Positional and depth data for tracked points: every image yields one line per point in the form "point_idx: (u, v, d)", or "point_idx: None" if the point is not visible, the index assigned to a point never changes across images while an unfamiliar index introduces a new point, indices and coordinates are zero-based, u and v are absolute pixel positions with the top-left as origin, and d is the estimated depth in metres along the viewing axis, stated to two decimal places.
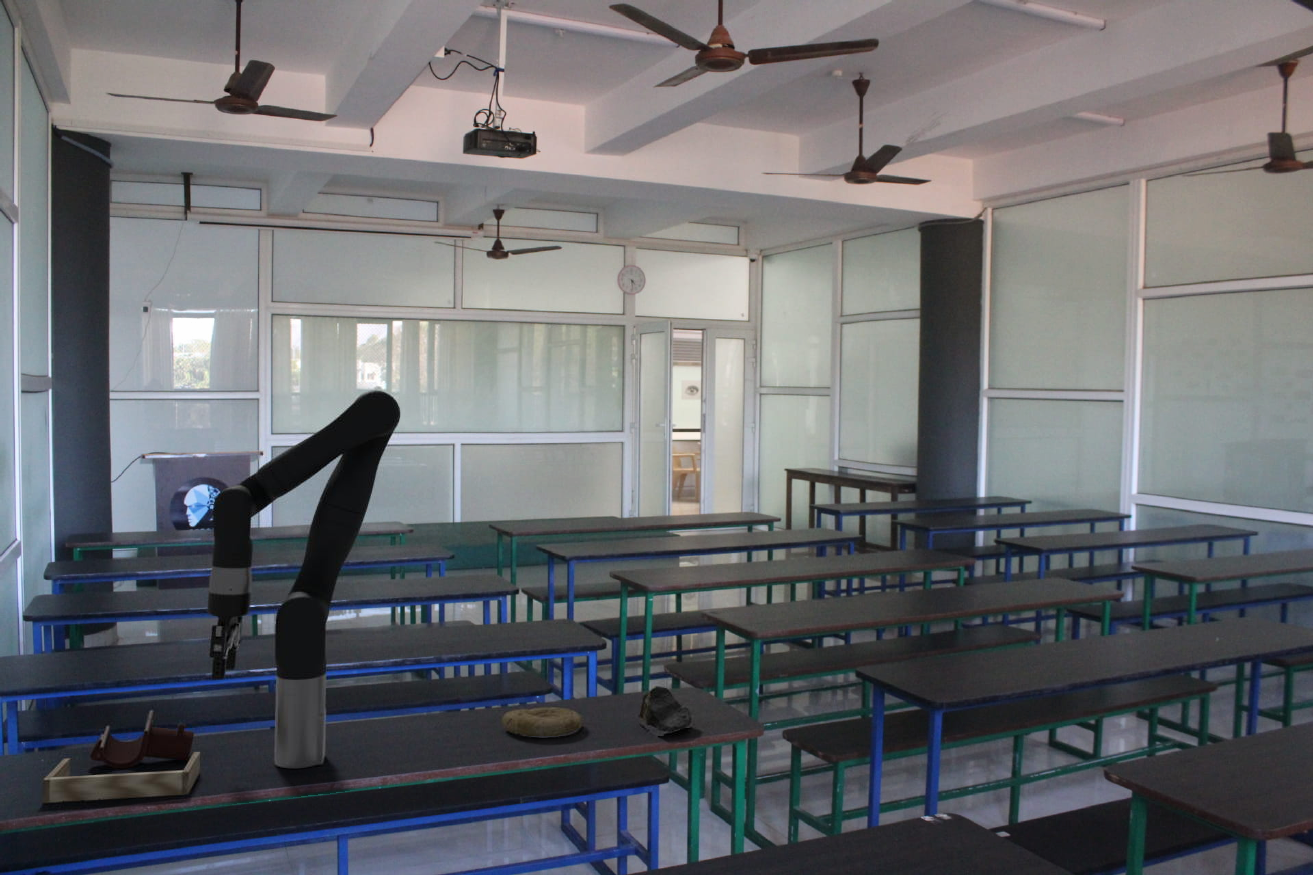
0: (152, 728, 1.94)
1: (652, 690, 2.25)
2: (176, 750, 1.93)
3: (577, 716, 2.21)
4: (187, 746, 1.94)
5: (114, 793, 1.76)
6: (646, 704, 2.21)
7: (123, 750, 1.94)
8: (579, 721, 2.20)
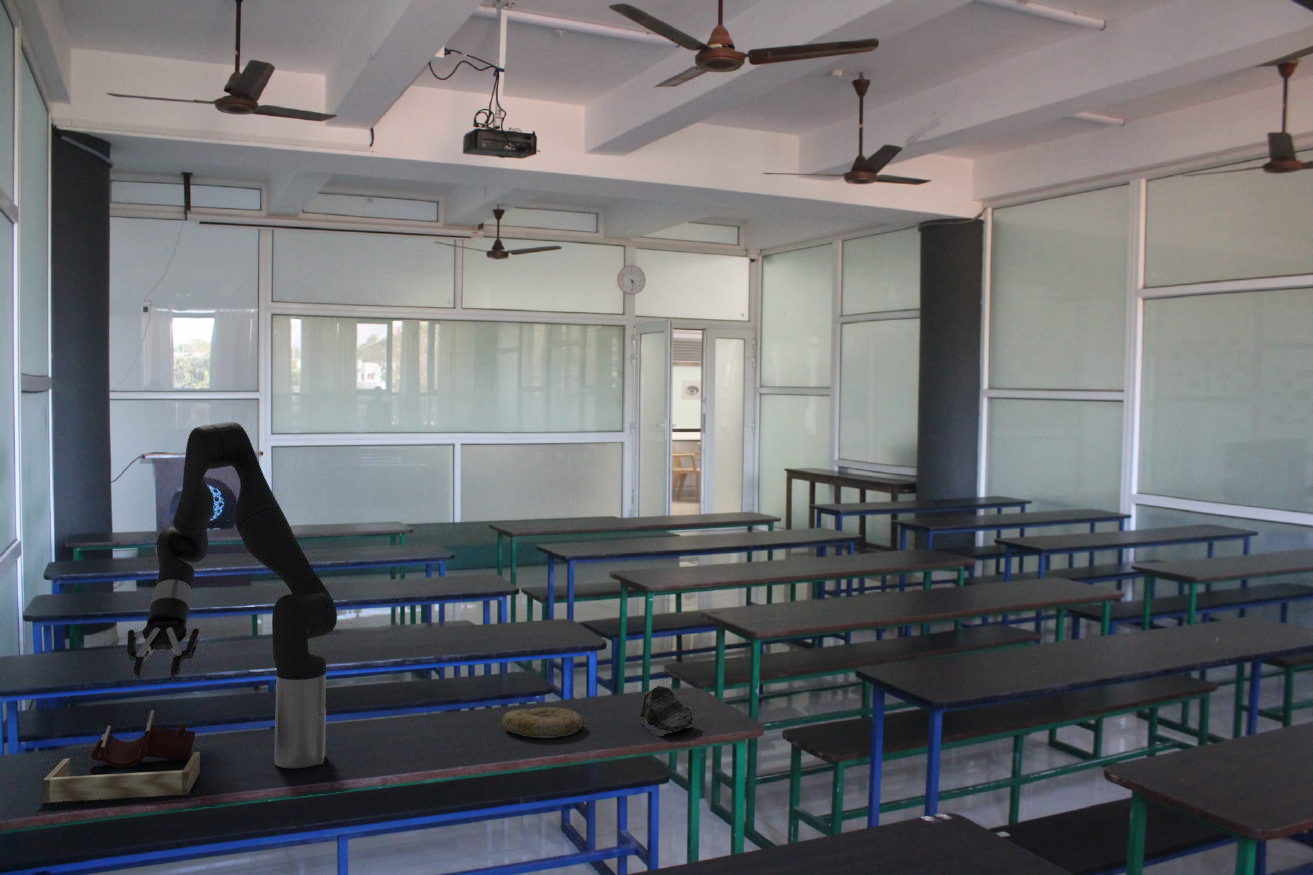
0: (153, 728, 1.94)
1: (654, 690, 2.25)
2: (177, 750, 1.93)
3: (577, 716, 2.21)
4: (188, 746, 1.94)
5: (114, 793, 1.76)
6: (647, 704, 2.21)
7: (124, 750, 1.94)
8: (579, 721, 2.20)
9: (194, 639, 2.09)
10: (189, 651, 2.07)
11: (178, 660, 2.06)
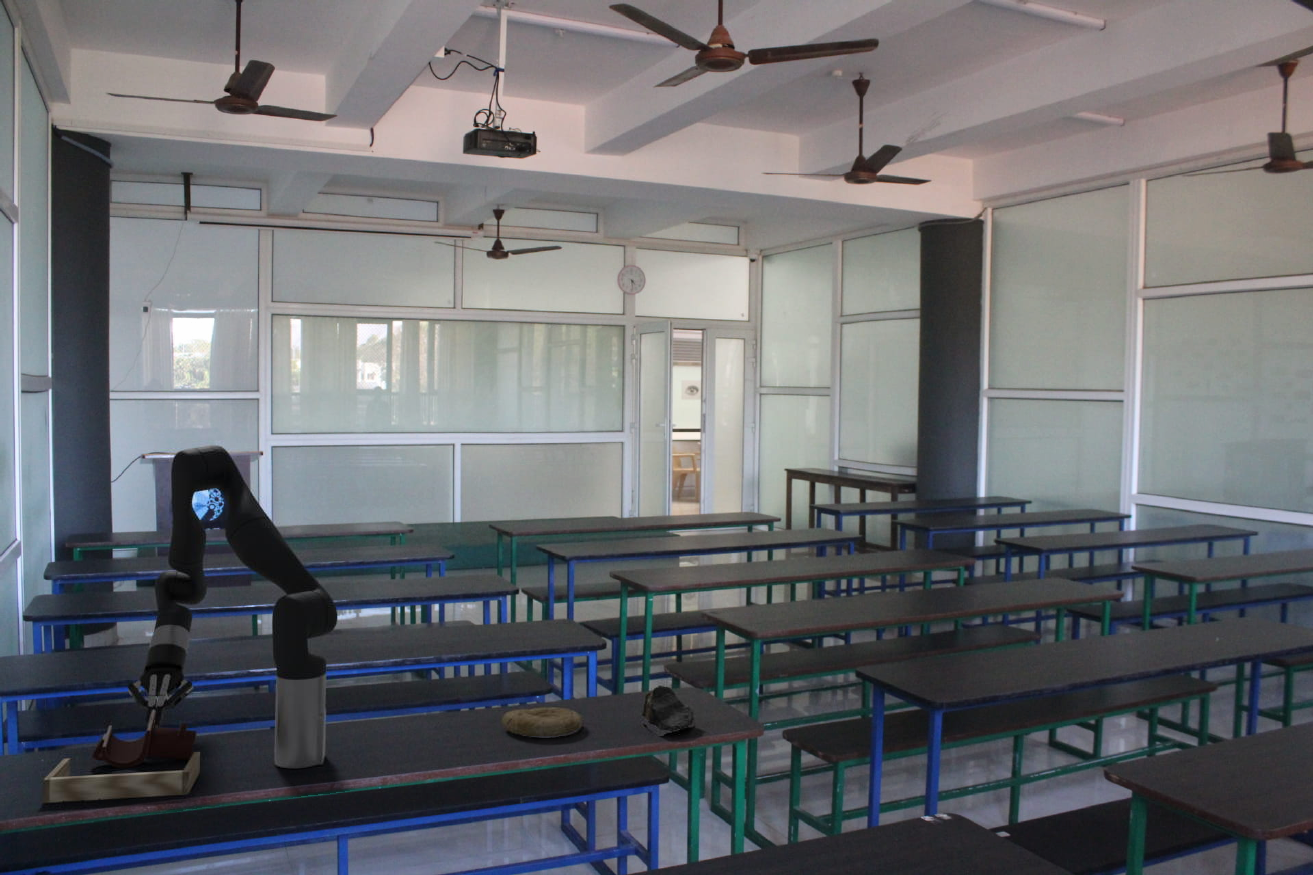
0: (154, 728, 1.94)
1: (655, 690, 2.26)
2: (178, 750, 1.93)
3: (577, 716, 2.21)
4: (189, 746, 1.94)
5: (114, 793, 1.76)
6: (648, 703, 2.22)
7: (125, 749, 1.94)
8: (579, 721, 2.20)
9: (182, 691, 2.07)
10: (170, 702, 2.05)
11: (160, 710, 2.04)
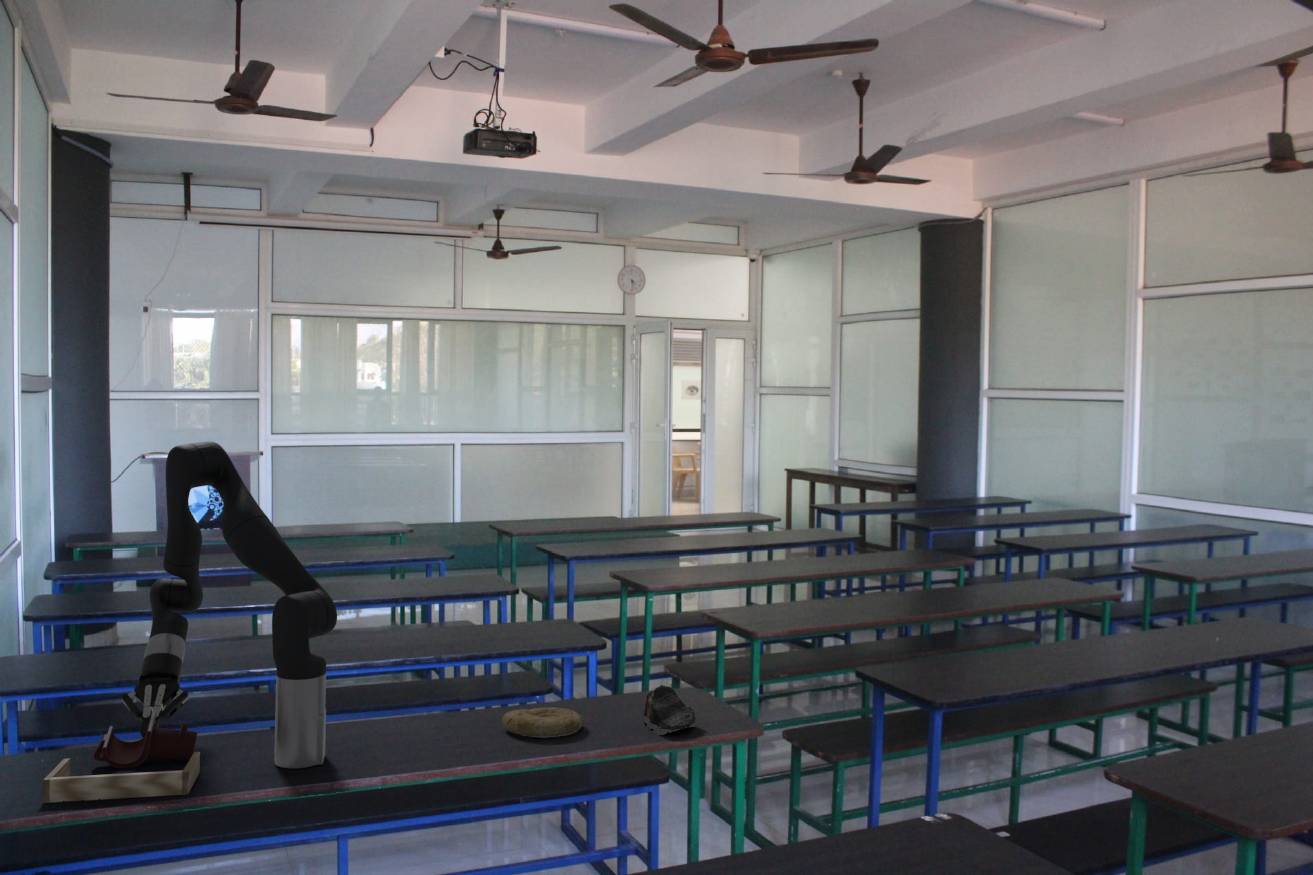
0: (155, 728, 1.93)
1: (656, 689, 2.26)
2: (179, 750, 1.93)
3: (577, 716, 2.21)
4: (190, 746, 1.94)
5: (114, 793, 1.76)
6: (649, 703, 2.22)
7: (126, 750, 1.93)
8: (579, 721, 2.20)
9: (178, 702, 2.02)
10: (165, 712, 2.00)
11: (155, 722, 1.99)
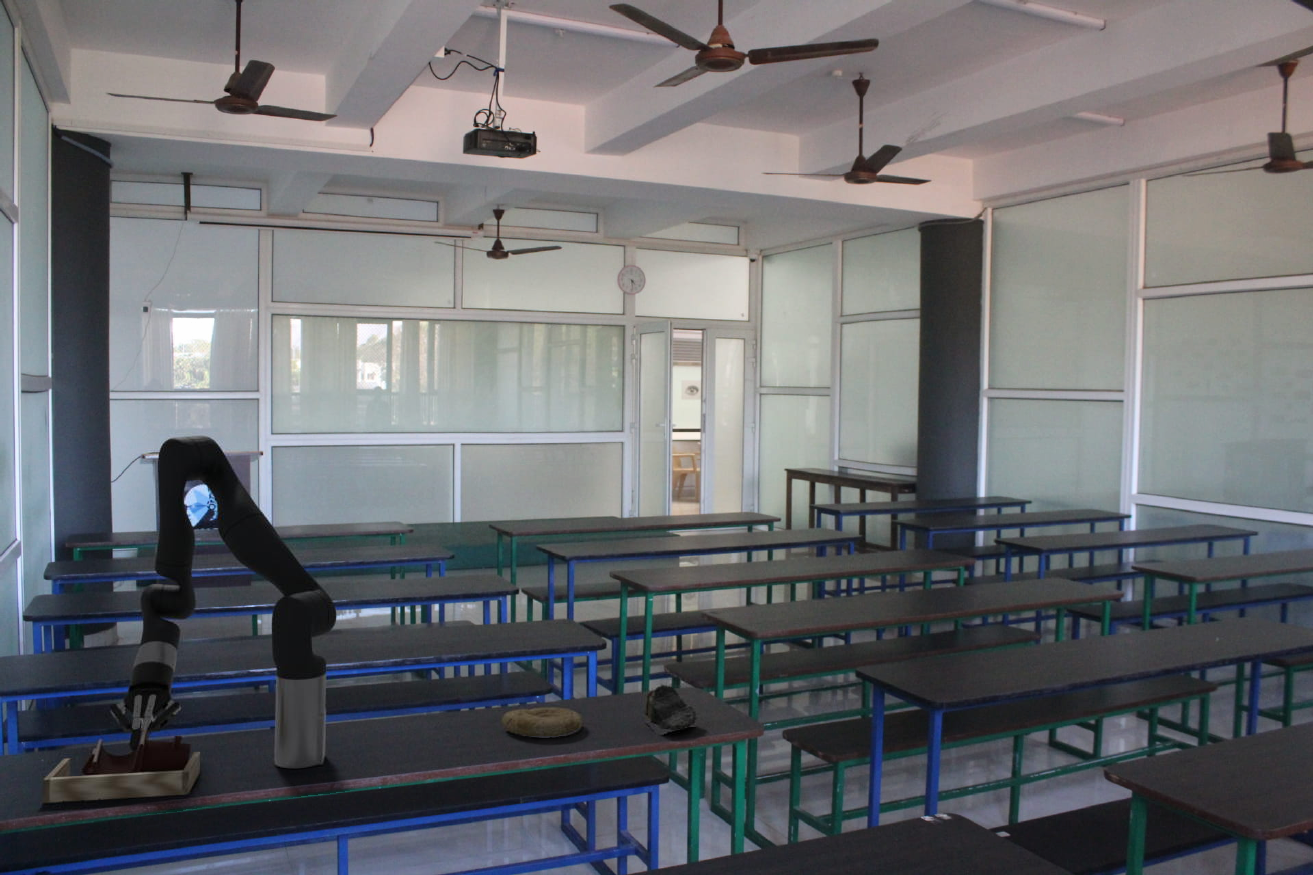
0: (147, 741, 1.86)
1: (657, 689, 2.27)
2: (172, 764, 1.86)
3: (577, 716, 2.21)
4: (184, 759, 1.86)
5: (114, 793, 1.76)
6: (650, 702, 2.22)
7: (116, 764, 1.86)
8: (579, 721, 2.20)
9: (168, 713, 1.94)
10: (156, 724, 1.92)
11: None
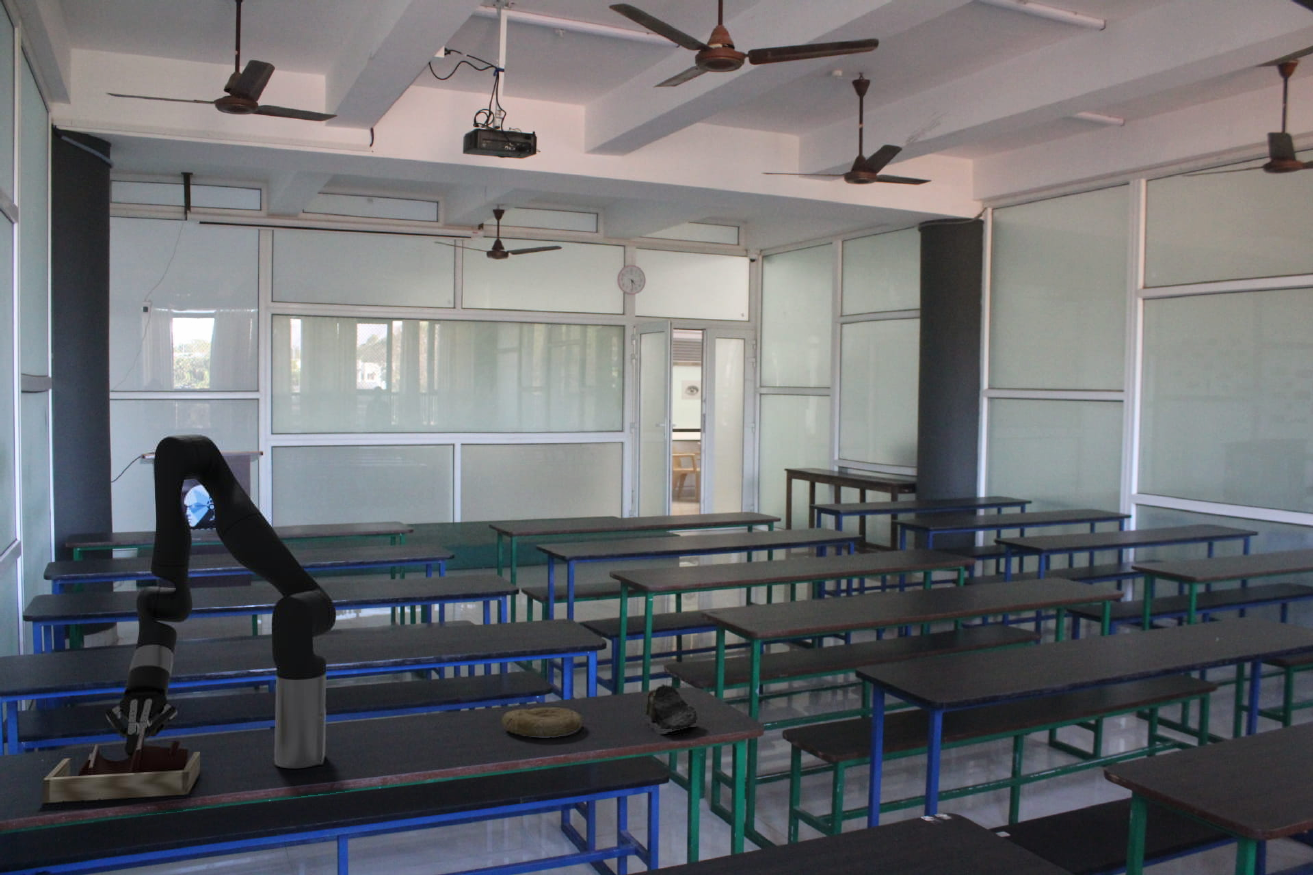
0: (144, 746, 1.83)
1: (658, 689, 2.27)
2: (170, 769, 1.83)
3: (577, 716, 2.21)
4: (182, 765, 1.84)
5: (114, 793, 1.76)
6: (650, 702, 2.23)
7: (113, 770, 1.83)
8: (579, 721, 2.20)
9: (165, 717, 1.91)
10: (152, 729, 1.89)
11: None
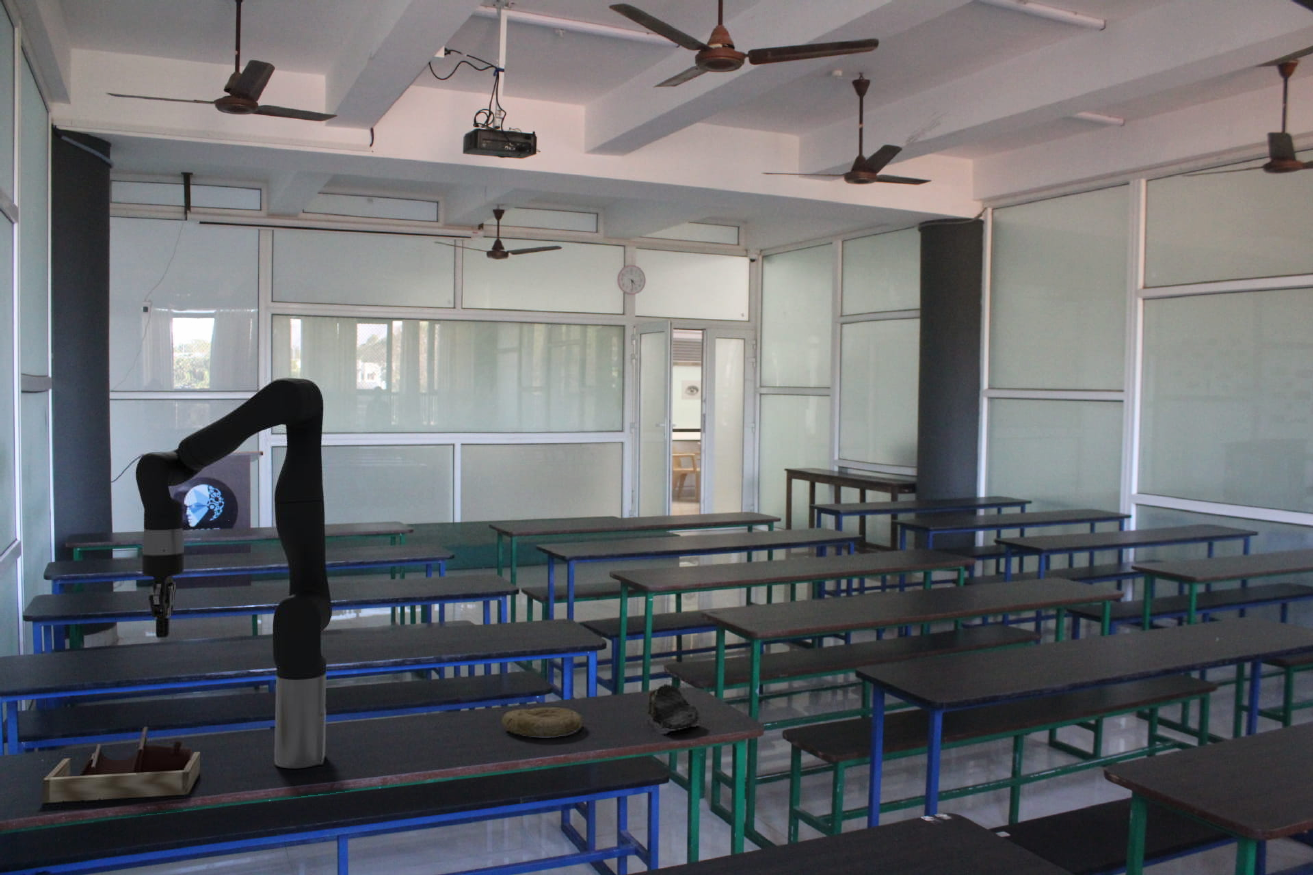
0: (146, 746, 1.83)
1: (660, 688, 2.27)
2: (172, 769, 1.83)
3: (577, 716, 2.21)
4: (184, 765, 1.84)
5: (114, 793, 1.76)
6: (652, 701, 2.23)
7: (115, 769, 1.83)
8: (579, 721, 2.20)
9: (173, 598, 2.07)
10: (172, 610, 2.05)
11: None
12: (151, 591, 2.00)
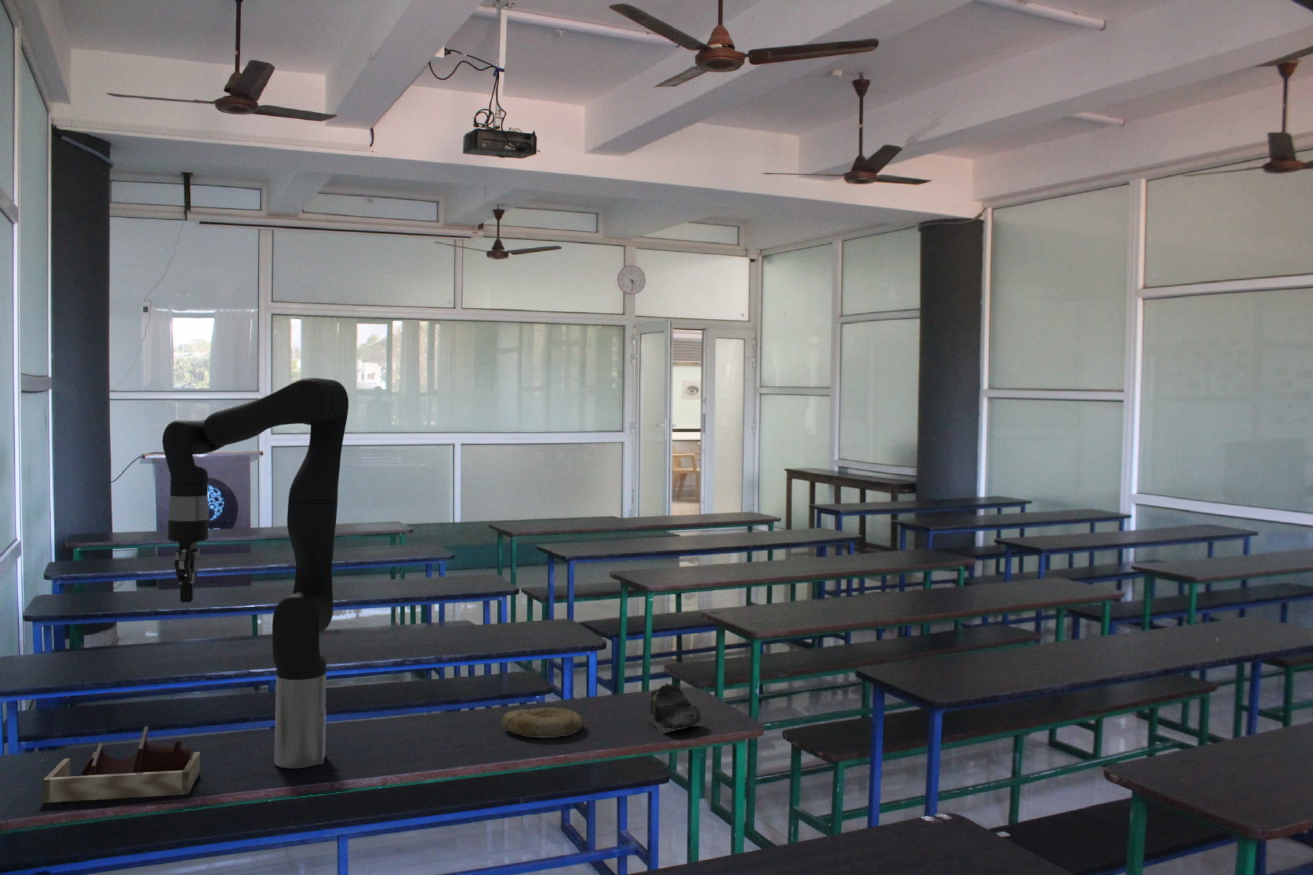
0: (147, 745, 1.84)
1: (661, 688, 2.28)
2: (172, 769, 1.83)
3: (577, 716, 2.21)
4: (184, 764, 1.84)
5: (114, 793, 1.76)
6: (653, 701, 2.24)
7: (117, 768, 1.84)
8: (579, 721, 2.20)
9: None
10: None
11: None
12: (176, 556, 2.04)
